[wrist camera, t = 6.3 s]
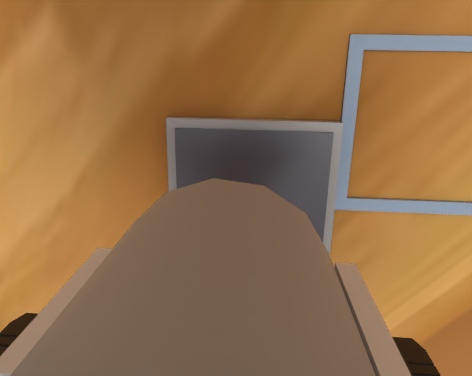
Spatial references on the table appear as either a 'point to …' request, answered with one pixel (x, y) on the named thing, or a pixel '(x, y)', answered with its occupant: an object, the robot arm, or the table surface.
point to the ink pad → (262, 159)
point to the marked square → (350, 110)
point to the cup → (208, 296)
